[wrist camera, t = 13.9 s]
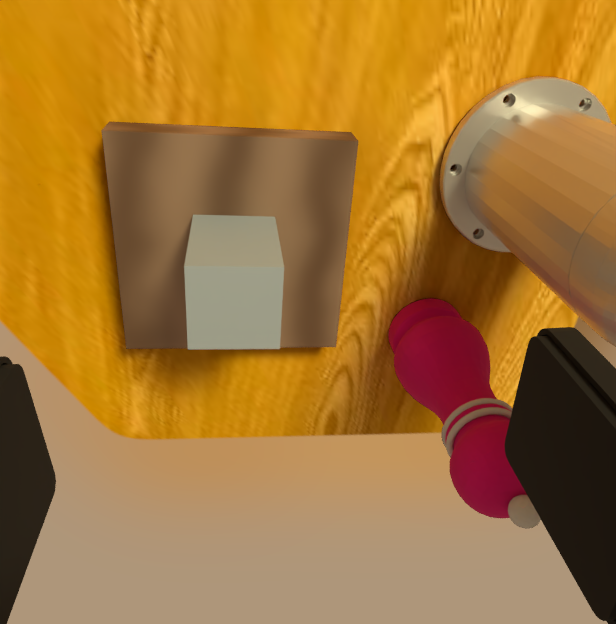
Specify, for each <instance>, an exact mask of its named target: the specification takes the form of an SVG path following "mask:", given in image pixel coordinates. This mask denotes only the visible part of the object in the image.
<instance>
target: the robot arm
mask: <svg viewBox="0 0 616 624" xmlns="http://www.w3.org/2000/svg"><path fill="white" fill-rule="evenodd" d="M506 95H507V99H506V101H504V102H503V99H504V97H505V96H506ZM580 102H581V104H580ZM579 104H580V105H579ZM454 164H455V167H454V168H453V169H451V170H450V168H451V166H452V165H454ZM440 193H441V199H442V203H443V206H444V209H445V211H446V214H447V216H448V217H449V219H450V220H451V222H452V223H453V225H454V226H455V227H456V228H457V230H458V231H459V232H460V233H461V234H462V235H463V236H464V237H466V238H467V239H468V240H469V241H471V242H472V243H474V244H476V245H478V246H480V247H483V248H485V249H488V250H492V251H497V252H512V253H513V254H514V255H515V256H516V257H517V258H518V259H519V260H520V261H521V262H522V263H523V264H525V265H526V266H527V267H528V268H529V269H530V270H531V271H532V272H533V273H534V274H535V275H536V276H537V277H538V278H539V279H540V280H541V281H542V282H543V283H544V284H545V285H546V286H547V287H549V288H550V289H551V290H552V291H553V292H554V293H555V294H556V295H557V296H558V297H559V298H560V299H561V300H562V301H563V302H564V303H565V304H566V305H567V306H568V307H569V308H570V309H571V310H573V311H574V312H575V313H576V314H577V315H578V316H579V317H580V318H581V319H582V320H583V321H584V322H586V323H587V324H588V325H589V326H590V327H591V328H592V329H593V330H594V331H595V332H596V333H597V334H598V335H600V336H601V337H602V338H604V339H605V340H606V341H607V342H609V343H610V344H612V345H614V346H615V347H616V125H614V124H611V121H610V119H609V116H608V114H607V112H606V109H605V108H604V106H603V105H602V104H601V102H600V101H599V100H598V98H597V97H596V96H595V95H593V94H592V93H591V92H590V91H588V90H587V89H586V88H585V87H583V86H580V85H578V84H576V83H574V82H571V81H568V80H565V79H561V78H557V77H543V76H538V77H531V78H525V79H520V80H518V81H515V82H512V83H509V84H506V85H504V86H502V87H501V88H499V89H497V90H495V91H494V92H492V93H490V94H488V95H487V96H486V97H485V98H484V99H482V100H481V101H480V102H479V103H477V104H476V105H475V106H474V107H473V108H472V109H471V110H470V111H469V112H468V114H467V115H466V116H465V117H464V118H463V119H462V120H461V122H460V123H459V125H458V127H457V128H456V130H455V131H454V133H453V135H452V136H451V138H450V141H449V143H448V145H447V148H446V150H445V152H444V156H443V160H442V165H441V169H440ZM476 229H477V230H476ZM475 230H476V231H475ZM474 231H475V232H474ZM504 445H505V454H506V457H507V460H508V462H509V464H510V465H511V467H512V469H513V471H514V473H515V474H516V476H517V478H518V480H519V481H520V483H521V485H522V487H523V488H524V490H525V492H526V494H527V496H528V497H529V499H530V501H531V503H532V504H533V506H534V508H535V510H536V511H537V513H538V515H539V517H540V519H541V520H542V522H543V524H544V525H545V527H546V529H547V531H548V533H549V534H550V536H551V538H552V540H553V541H554V543H555V545H556V547H557V549H558V550H559V552H560V554H561V556H562V557H563V559H564V561H565V563H566V564H567V566H568V568H569V570H570V572H571V573H572V575H573V577H574V579H575V580H576V582H577V584H578V586H579V587H580V589H581V591H582V593H583V595H584V596H585V598H586V600H587V601H588V603H589V605H590V607H591V609H592V610H593V612H594V613H595V615H596V616H597V617H598V618H599V619H601V620H603V621H607V622H608V624H616V369H615V368H614V367H613V366H612V365H611V364H610V362H608V360H607V359H606V358H604V356H603V355H602V354H601V353H600V352H599V351H598V350H597V349H596V348H595V347H594V346H593V345H592V344H591V343H590V342H589V341H588V340H587V339H586V338H585V337H584V336H583V335H582V334H581V333H580V332H579V331H578V330H577V329H575V328H572V327H566V328H547V329H542V330H540V332H539V333H538V335H537V337H532V338H531V339H530V341H529V344H528V348H527V352H526V356H525V360H524V364H523V368H522V372H521V377H520V381H519V385H518V389H517V393H516V397H515V401H514V405H513V409H512V414H511V418H510V422H509V426H508V430H507V434H506V438H505V444H504ZM55 484H56V480H55V472H54V470H53V466H52V463H51V459H50V456H49V453H48V450H47V446H46V443H45V440H44V437H43V433H42V430H41V426H40V423H39V420H38V416H37V414H36V410H35V407H34V403H33V400H32V397H31V393H30V390H29V387H28V384H27V380H26V377H25V374H24V371H23V368H22V367H21V366H20V365H19V364H12V362H11V360H10V359H9V358H7V357H0V624H7V621H8V618H9V616H10V613H11V610H12V607H13V604H14V602H15V599H16V596H17V594H18V591H19V588H20V585H21V583H22V580H23V577H24V575H25V572H26V569H27V566H28V564H29V561H30V558H31V556H32V553H33V550H34V547H35V544H36V542H37V539H38V536H39V534H40V531H41V528H42V526H43V523H44V520H45V517H46V515H47V512H48V509H49V506H50V504H51V501H52V498H53V495H54V492H55Z"/></svg>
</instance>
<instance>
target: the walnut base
mask: <svg viewBox="0 0 616 624" xmlns="http://www.w3.org/2000/svg"><path fill="white" fill-rule="evenodd" d="M102 137H103V146H104V155H105V163H106V172H107V181H108V190H109V199H110V208H111V217H112V225H113V234H114V243H115V252H116V261H117V270H118V279H119V288H120V296H121V305H122V314H123V323H124V332H125V341H126V349H153V348H188V342H187V319H186V297H185V274H184V264H185V258H186V252H187V247H188V241H189V235H190V229H191V224H192V218H193V215H228V216H267V217H275V219H276V225H277V230H278V236H279V241H280V247H281V252H282V258H283V263H284V281H283V300H282V318H281V337H280V347H336V341H337V331H338V322H339V313H340V304H341V295H342V286H343V276H344V267H345V258H346V249H347V240H348V230H349V221H350V212H351V203H352V194H353V185H354V175H355V166H356V157H357V148H358V140H357V139H356V138H355V136H354V135H353V134H352V133H351V132H331V131H308V130H285V129H262V128H239V127H216V126H193V125H170V124H147V123H124V122H109V123H108V124H107V125H106V126H105V127H104V129H103V130H102Z"/></svg>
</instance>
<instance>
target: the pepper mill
mask: <svg viewBox="0 0 616 624" xmlns="http://www.w3.org/2000/svg"><path fill="white" fill-rule="evenodd" d="M388 337H389V343H390V345H391V348H392V350H393V352H394V354H395V356H394V367H395V372H396V375H397V377H398V379H399V381H400V382H401V384H402V386H403V387H404V389H405V390H406V391H407V392H408V393H409V394H410V395H411V396H412V397H413V398H414V399H415V400H416V401H418V402H419V403H421V404H422V405H424V406H425V407H427V408H428V409H430V410H431V411H433V412H434V413H435V414H436V415H437V416H438V417H439V418H440V419H441V421H442V423H443V425H444V426H443V428H442V441H443V444H444V445H445V447H446V449H447V452H448V454H449V456H450V457H451V459H450V475H451V478H452V481H453V484H454V487H455V488H456V490H457V492H458V494H459V495H460V497H462V499H463V500H464V501H465V503H467V504H468V505H469V506H470V507H471V508H473V509H474V510H476V511H477V512H479V513H481V514H484V515H486V516H489V517H494V518H510V519H511V520H512V521H513V523H514V524H516V525H517V526H519V527H522V528H533V527H534V526H536V525H537V524H538V523H539V522H540V520H541V519H540V517H539V515H538V513H537V511H536V510H535V508H534V506H533V504H532V503H531V501H530V499H529V497H528V496H527V494H526V492H525V490H524V488H523V487H522V485H521V483H520V481H519V480H518V478H517V476H516V474H515V473H514V471H513V469H512V467H511V465H510V464H509V462H508V460H507V457H506V454H505V445H504V444H505V438H506V434H507V430H508V426H509V422H510V418H511V414H512V408H511V407H510V406H509V405H508V404H507V403H505V402H503V401H501V400H498V399H497V398H496V397H495V396H494V394H493V392H492V390H491V388H490V384H489V378H490V359H489V352H488V348H487V345H486V343H485V341H484V339H483V338H482V336H481V334H480V332H479V331H478V330H477V329H476V328H475V327H474V326H473V325H472V324H470V323H469V322H468V321H465V320H463V319H462V318H461V316H460V315H459V313H458V312H457V310H456V309H455V308H454V307H453V306H452V305H451V304H449V303H447V302H446V301H443V300H440V299H433V298H429V299H422V300H418V301H415V302H413V303H411V304H409V305H407V306H406V307H404V308H403V309H402V310H401V311H400V312H399V313H398V314H397V315H396V316H395V317H394V319H393V321H392V323H391V325H390V328H389V336H388Z"/></svg>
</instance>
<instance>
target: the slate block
mask: <svg viewBox="0 0 616 624" xmlns="http://www.w3.org/2000/svg"><path fill="white" fill-rule="evenodd" d="M184 274H185V297H186V319H187V342H188V350H191V349H280V337H281V318H282V300H283V281H284V263H283V258H282V252H281V247H280V241H279V236H278V230H277V225H276V219H275V217H267V216H228V215H193V218H192V224H191V229H190V235H189V241H188V247H187V252H186V258H185V264H184Z"/></svg>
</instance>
